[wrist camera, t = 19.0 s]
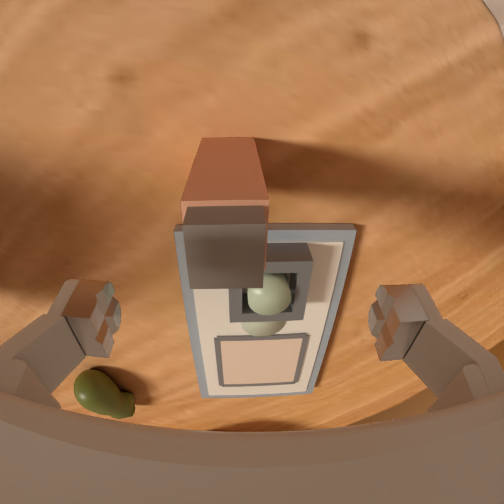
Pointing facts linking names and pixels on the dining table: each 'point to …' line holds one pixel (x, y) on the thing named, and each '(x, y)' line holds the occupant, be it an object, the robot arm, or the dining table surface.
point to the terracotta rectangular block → (225, 216)
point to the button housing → (300, 266)
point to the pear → (103, 395)
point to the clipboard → (268, 333)
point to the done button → (270, 295)
